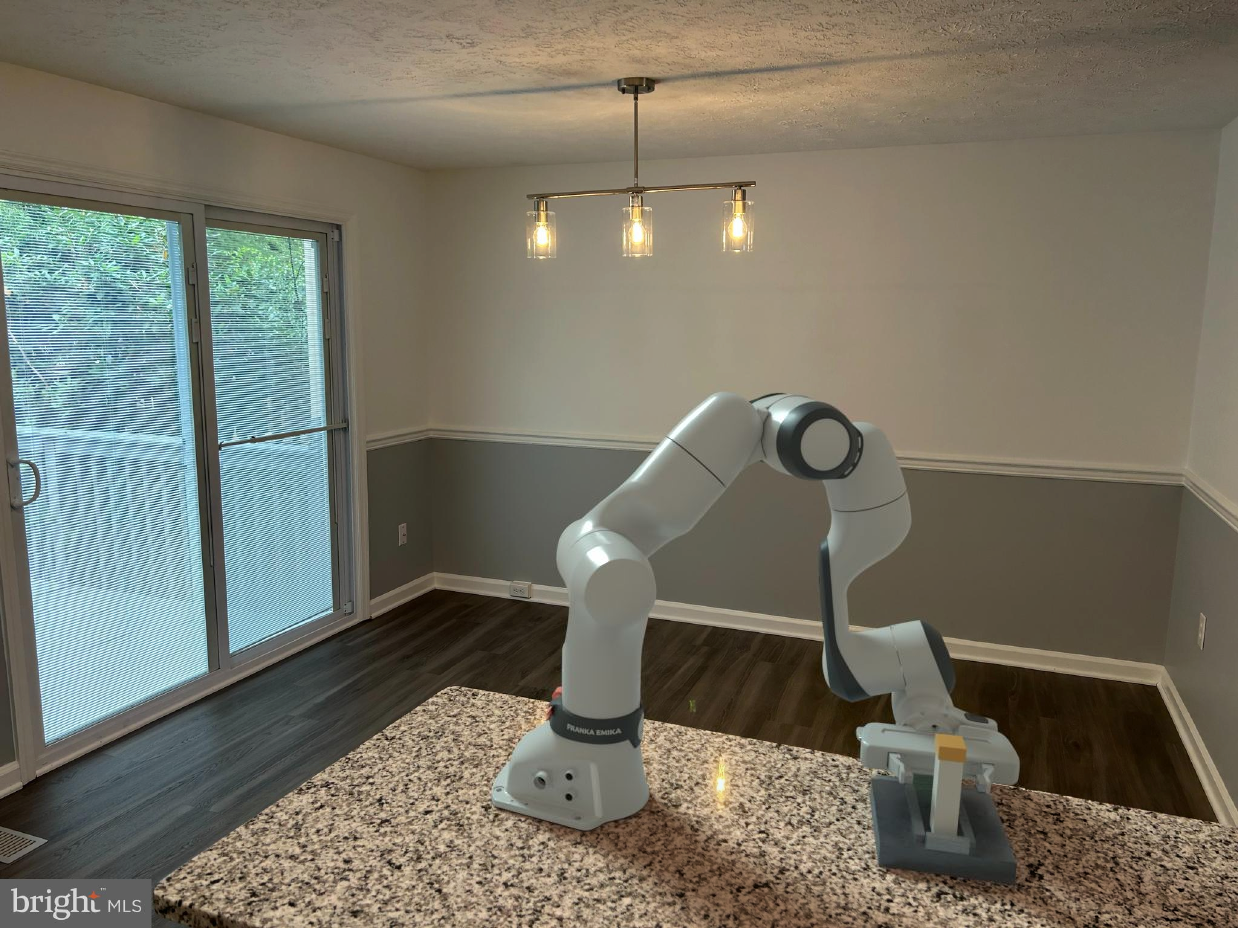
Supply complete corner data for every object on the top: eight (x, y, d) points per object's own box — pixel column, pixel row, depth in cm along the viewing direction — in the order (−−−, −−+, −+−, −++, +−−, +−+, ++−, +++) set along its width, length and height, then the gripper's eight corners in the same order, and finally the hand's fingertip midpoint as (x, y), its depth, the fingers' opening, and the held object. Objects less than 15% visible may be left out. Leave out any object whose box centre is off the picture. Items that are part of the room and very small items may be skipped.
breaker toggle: (931, 837, 110) (939, 746, 107) (927, 822, 113) (935, 733, 111) (958, 841, 109) (966, 749, 107) (953, 826, 112) (962, 736, 110)
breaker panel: (878, 865, 109) (881, 830, 108) (869, 797, 124) (872, 766, 124) (1014, 884, 106) (1018, 849, 105) (988, 812, 121) (991, 780, 120)
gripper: (856, 704, 126) (862, 750, 112) (1007, 720, 121) (1032, 770, 108) (853, 745, 127) (859, 795, 113) (1002, 762, 123) (1026, 817, 109)
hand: (945, 783), depth 111 cm, fingers open, 8 cm apart
